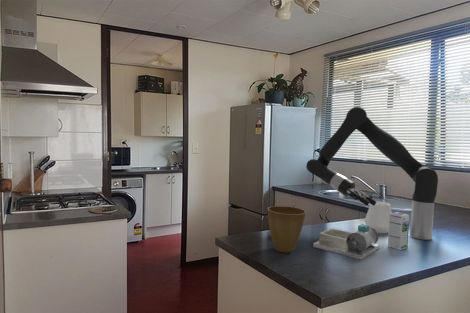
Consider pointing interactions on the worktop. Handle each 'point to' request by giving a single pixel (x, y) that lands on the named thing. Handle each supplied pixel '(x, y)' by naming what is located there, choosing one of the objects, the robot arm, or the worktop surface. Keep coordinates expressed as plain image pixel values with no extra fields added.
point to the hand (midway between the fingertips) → (372, 203)
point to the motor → (349, 241)
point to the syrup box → (398, 230)
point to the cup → (379, 217)
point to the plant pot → (285, 226)
